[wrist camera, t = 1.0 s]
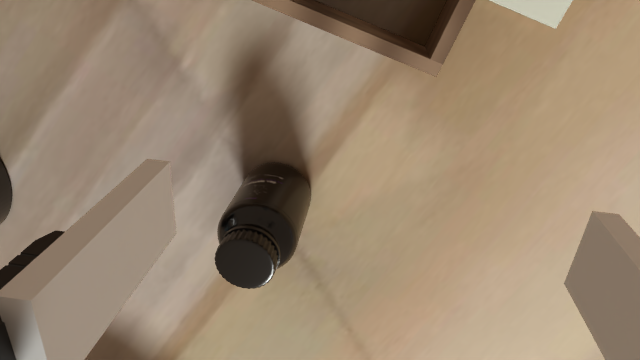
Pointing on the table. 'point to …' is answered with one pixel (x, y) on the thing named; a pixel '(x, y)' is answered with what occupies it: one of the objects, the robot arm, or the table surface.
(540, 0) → the coaster
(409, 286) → the table surface
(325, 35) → the table surface
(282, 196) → the supplement bottle
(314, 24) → the box frame
